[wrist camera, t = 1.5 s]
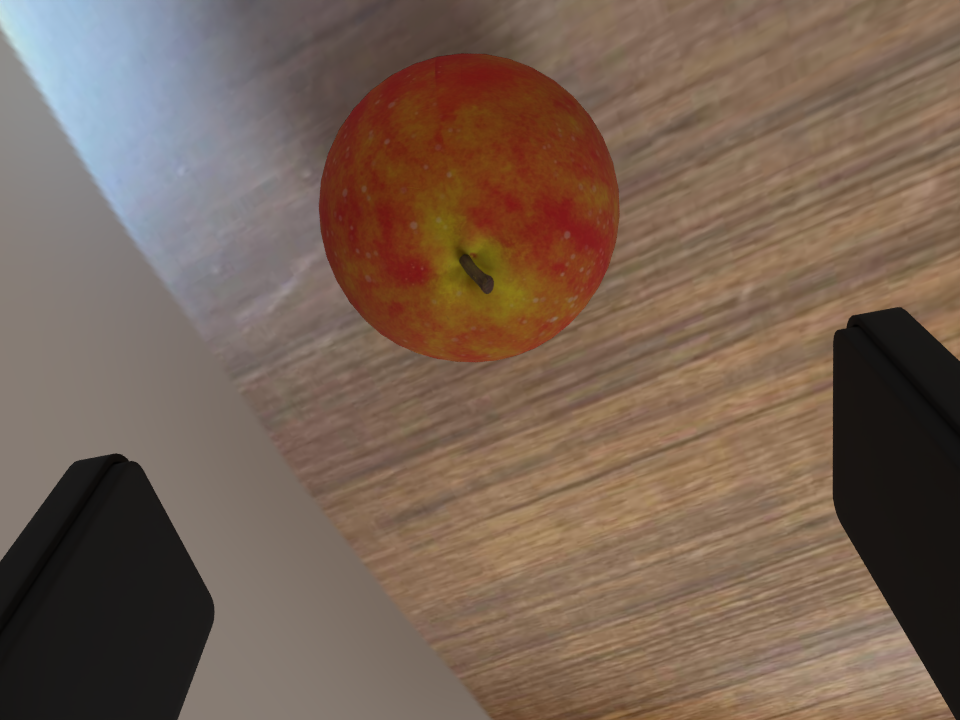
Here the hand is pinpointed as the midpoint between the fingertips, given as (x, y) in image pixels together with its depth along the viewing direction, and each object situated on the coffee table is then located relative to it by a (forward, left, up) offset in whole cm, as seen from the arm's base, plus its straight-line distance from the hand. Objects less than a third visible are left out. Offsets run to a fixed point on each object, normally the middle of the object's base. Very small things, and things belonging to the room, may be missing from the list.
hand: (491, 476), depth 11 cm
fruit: (0, 0, -13) cm, 13 cm away
